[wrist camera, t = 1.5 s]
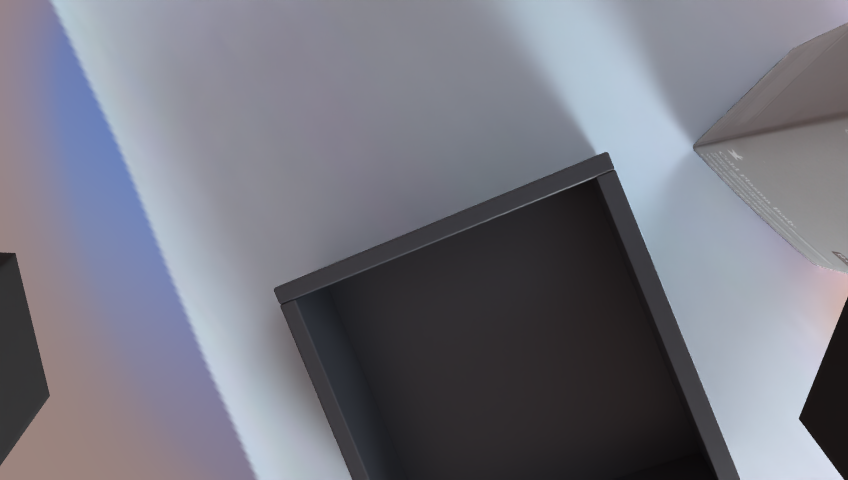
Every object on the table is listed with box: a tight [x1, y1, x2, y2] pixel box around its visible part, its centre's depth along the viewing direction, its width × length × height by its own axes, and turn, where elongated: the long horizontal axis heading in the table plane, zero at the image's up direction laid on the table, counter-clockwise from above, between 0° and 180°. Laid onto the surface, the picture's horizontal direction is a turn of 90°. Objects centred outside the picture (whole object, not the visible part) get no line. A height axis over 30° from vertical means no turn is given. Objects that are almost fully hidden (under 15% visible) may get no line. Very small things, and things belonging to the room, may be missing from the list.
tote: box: [274, 152, 740, 480], centre depth 32 cm, size 16×16×5 cm
